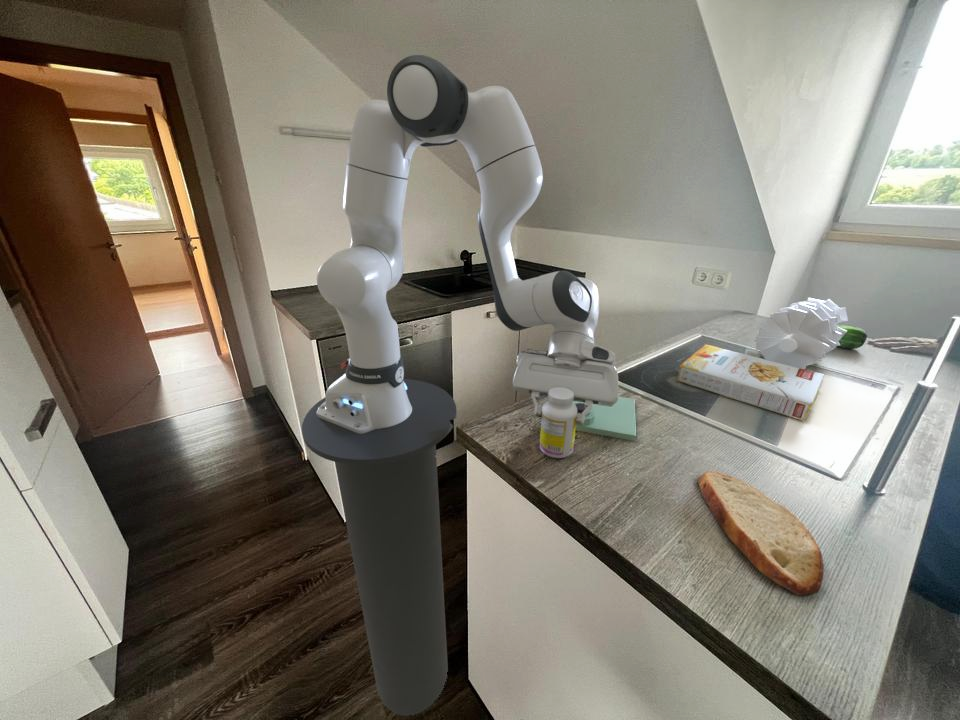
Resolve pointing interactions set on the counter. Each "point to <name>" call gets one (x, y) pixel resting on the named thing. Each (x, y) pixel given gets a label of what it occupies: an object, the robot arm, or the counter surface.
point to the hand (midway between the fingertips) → (558, 420)
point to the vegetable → (852, 337)
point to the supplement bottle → (558, 423)
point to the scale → (611, 420)
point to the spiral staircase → (801, 333)
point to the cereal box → (753, 380)
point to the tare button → (580, 408)
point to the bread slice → (765, 533)
